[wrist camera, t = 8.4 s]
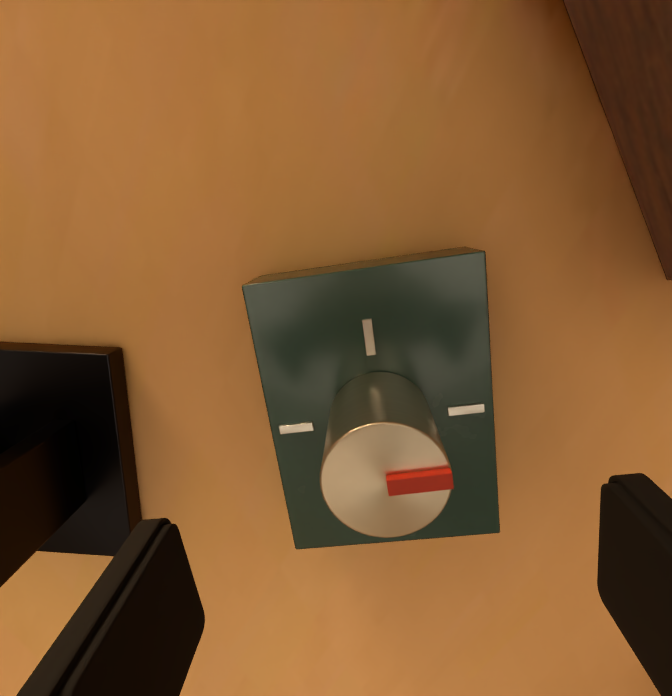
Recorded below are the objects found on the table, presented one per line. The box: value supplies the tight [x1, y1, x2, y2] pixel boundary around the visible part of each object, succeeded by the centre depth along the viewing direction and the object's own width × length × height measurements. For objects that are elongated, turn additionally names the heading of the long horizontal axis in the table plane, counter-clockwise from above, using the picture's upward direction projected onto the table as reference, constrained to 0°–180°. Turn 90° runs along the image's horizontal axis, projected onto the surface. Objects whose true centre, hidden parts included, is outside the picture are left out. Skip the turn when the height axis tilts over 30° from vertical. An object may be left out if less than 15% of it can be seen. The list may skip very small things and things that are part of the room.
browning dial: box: [320, 372, 454, 538], centre depth 15 cm, size 4×4×5 cm
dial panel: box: [242, 247, 500, 549], centre depth 19 cm, size 12×9×3 cm
